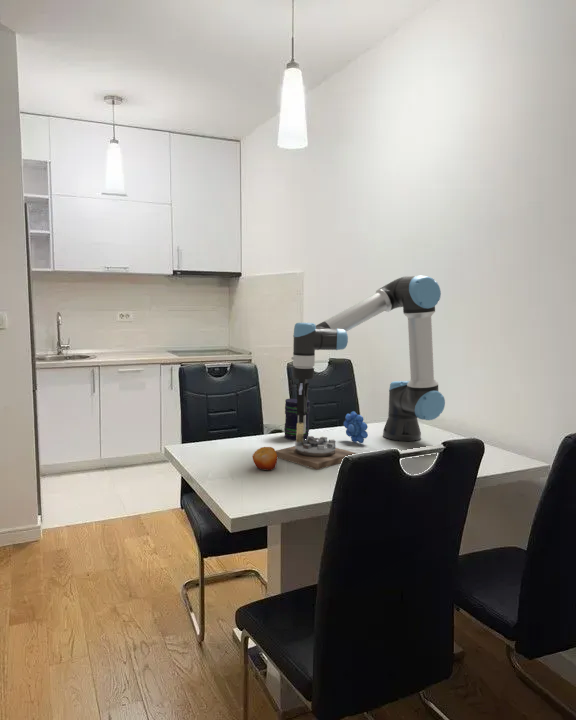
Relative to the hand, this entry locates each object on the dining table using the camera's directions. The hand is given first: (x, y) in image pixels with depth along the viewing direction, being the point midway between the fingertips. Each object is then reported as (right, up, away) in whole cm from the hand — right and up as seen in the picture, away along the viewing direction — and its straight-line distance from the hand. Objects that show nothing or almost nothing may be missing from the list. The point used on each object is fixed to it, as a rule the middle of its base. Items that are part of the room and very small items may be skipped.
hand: (301, 432), depth 200 cm
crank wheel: (+5, -6, -3) cm, 8 cm away
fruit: (-12, -10, -17) cm, 23 cm away
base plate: (+5, -8, -3) cm, 10 cm away
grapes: (+21, -6, +19) cm, 29 cm away
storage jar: (-1, -5, +25) cm, 25 cm away
